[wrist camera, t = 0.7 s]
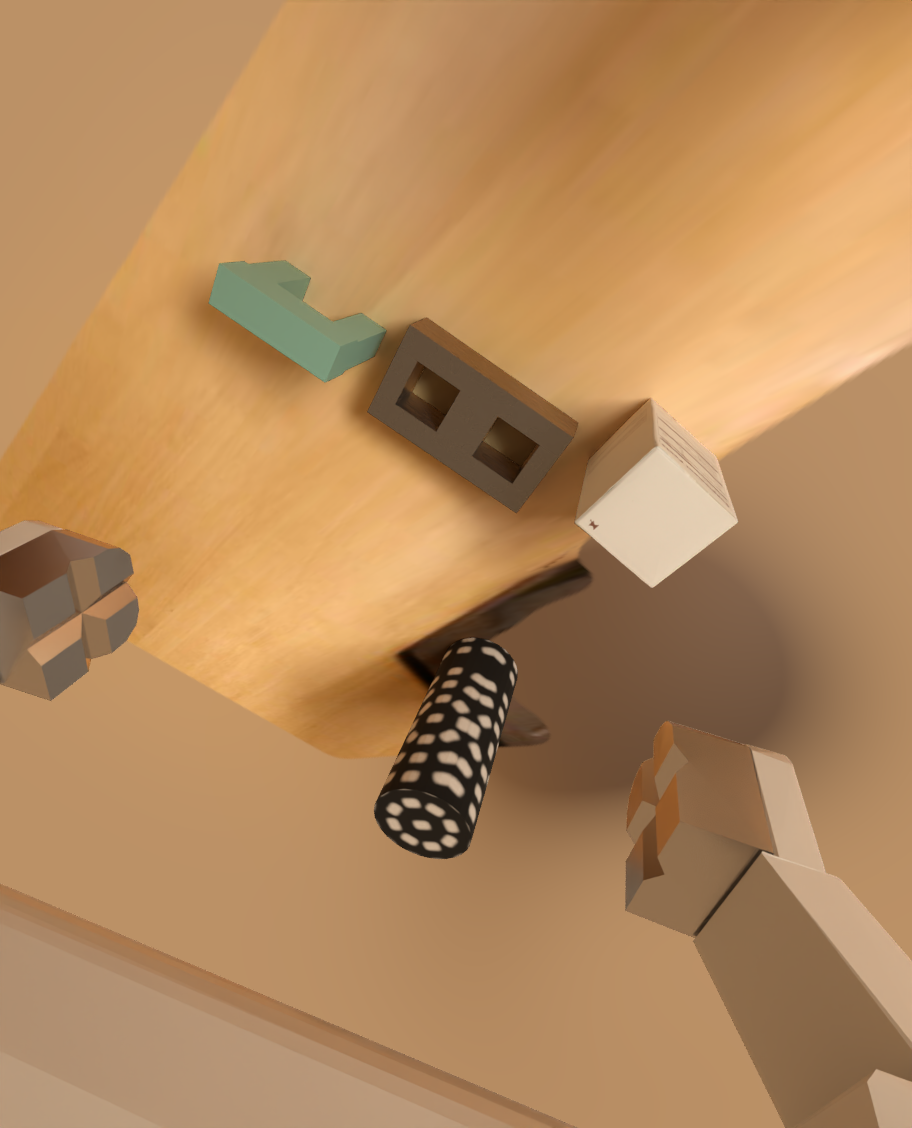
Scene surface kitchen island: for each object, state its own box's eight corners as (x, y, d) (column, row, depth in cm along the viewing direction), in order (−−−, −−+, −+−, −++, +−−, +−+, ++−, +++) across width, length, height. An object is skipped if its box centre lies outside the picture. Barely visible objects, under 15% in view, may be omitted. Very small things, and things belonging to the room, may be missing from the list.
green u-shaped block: (286, 257, 48) (219, 263, 40) (387, 327, 48) (340, 346, 41) (274, 291, 49) (208, 303, 42) (373, 359, 50) (325, 382, 42)
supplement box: (648, 516, 50) (649, 593, 39) (585, 459, 49) (569, 522, 39) (720, 456, 46) (742, 524, 35) (653, 393, 45) (655, 443, 35)
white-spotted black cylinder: (506, 634, 60) (453, 789, 44) (526, 695, 64) (484, 861, 47) (434, 641, 63) (359, 788, 47) (456, 699, 67) (394, 856, 50)
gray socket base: (426, 317, 47) (410, 324, 44) (578, 422, 48) (573, 437, 44) (385, 399, 51) (367, 411, 48) (524, 495, 52) (516, 513, 49)
